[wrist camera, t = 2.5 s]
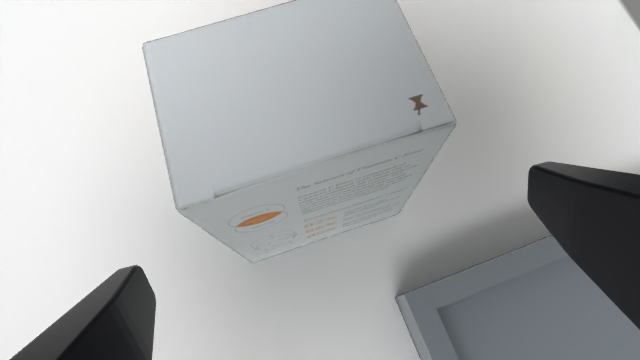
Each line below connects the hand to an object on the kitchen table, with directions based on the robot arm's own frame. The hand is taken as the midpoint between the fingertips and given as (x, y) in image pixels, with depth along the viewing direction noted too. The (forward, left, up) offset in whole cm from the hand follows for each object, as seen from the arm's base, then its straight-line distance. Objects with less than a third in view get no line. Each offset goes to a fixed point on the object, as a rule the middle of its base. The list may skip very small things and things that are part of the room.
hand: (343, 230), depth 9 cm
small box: (0, +5, -11) cm, 12 cm away
